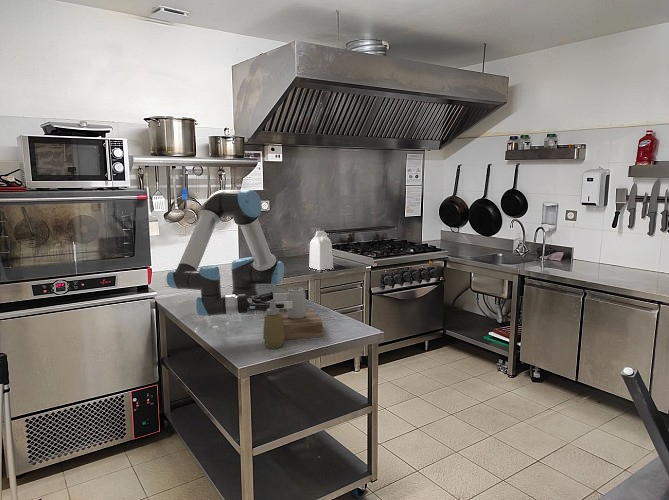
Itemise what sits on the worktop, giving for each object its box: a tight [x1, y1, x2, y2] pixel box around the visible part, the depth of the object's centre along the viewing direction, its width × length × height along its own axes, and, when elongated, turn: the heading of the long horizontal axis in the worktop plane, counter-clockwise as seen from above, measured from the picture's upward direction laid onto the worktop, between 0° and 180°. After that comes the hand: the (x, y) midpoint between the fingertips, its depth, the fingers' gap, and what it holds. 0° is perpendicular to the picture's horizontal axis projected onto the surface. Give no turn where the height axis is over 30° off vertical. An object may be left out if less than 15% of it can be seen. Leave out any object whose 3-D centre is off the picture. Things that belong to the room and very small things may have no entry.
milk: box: [308, 230, 334, 271], centre depth 324 cm, size 12×12×26 cm
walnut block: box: [279, 309, 324, 341], centre depth 196 cm, size 18×18×6 cm
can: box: [286, 286, 307, 319], centre depth 194 cm, size 8×8×12 cm
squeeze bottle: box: [262, 299, 285, 349], centre depth 178 cm, size 8×8×18 cm
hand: (290, 300), depth 193 cm, fingers open, 13 cm apart
